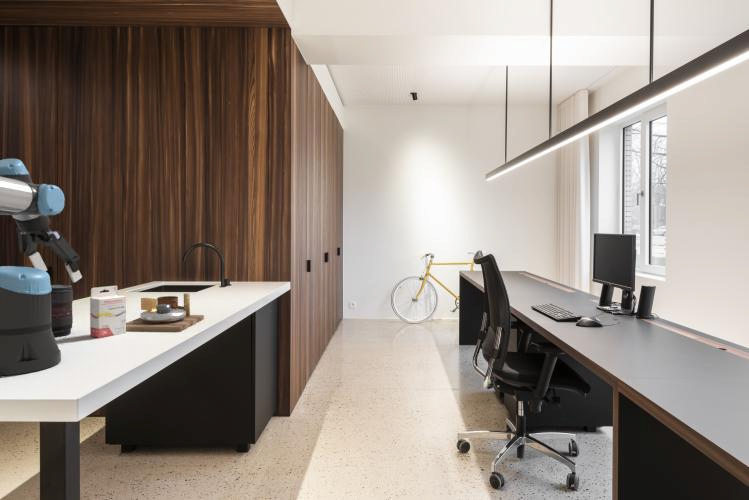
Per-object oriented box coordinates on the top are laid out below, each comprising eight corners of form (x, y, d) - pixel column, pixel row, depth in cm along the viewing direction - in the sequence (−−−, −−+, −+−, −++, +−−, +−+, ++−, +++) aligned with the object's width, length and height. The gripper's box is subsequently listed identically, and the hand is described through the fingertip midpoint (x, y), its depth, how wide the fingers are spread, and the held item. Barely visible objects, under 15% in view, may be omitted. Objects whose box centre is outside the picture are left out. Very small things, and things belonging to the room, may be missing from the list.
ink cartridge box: (99, 338, 135) (98, 289, 135) (89, 336, 138) (88, 288, 137) (127, 333, 143) (126, 286, 142) (117, 331, 145) (117, 285, 144)
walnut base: (180, 331, 145) (180, 302, 145) (117, 330, 145) (117, 301, 145) (203, 319, 165) (203, 293, 165) (148, 318, 165) (148, 292, 165)
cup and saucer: (191, 311, 181) (191, 296, 180) (171, 317, 169) (170, 300, 169) (164, 309, 183) (164, 294, 183) (143, 315, 172) (143, 299, 171)
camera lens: (57, 338, 134) (56, 288, 134) (34, 337, 136) (33, 287, 135) (80, 332, 142) (79, 284, 142) (58, 331, 144) (57, 283, 143)
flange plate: (194, 317, 158) (194, 299, 157) (157, 324, 146) (157, 305, 145) (161, 311, 167) (161, 295, 166) (124, 318, 155) (124, 300, 154)
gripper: (76, 214, 126) (102, 275, 138) (8, 202, 133) (39, 262, 144) (52, 227, 120) (82, 290, 132) (-17, 214, 127) (17, 276, 138)
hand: (60, 275), depth 138 cm, fingers open, 13 cm apart
